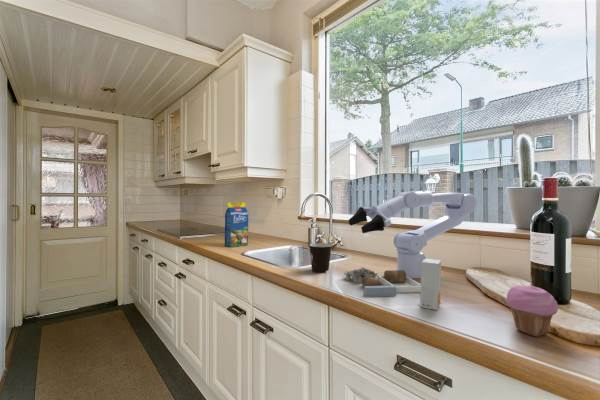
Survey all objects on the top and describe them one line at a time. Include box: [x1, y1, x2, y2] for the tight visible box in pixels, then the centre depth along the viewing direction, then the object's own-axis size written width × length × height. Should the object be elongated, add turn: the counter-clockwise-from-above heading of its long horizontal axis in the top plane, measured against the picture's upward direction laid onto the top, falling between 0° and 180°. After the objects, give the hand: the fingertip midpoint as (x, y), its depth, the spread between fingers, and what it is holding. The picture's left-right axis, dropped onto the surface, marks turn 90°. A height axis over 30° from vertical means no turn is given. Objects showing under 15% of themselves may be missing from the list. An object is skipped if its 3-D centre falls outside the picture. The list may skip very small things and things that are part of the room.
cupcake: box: [506, 285, 559, 337], centre depth 65 cm, size 9×9×10 cm
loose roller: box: [361, 275, 382, 287], centre depth 93 cm, size 6×4×4 cm, turn 7°
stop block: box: [363, 285, 397, 298], centre depth 87 cm, size 9×2×3 cm, turn 97°
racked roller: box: [383, 269, 406, 283], centre depth 100 cm, size 6×4×4 cm, turn 97°
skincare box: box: [419, 258, 442, 311], centre depth 80 cm, size 6×4×12 cm
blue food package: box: [224, 202, 249, 248], centre depth 174 cm, size 6×12×25 cm, turn 137°
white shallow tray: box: [377, 275, 421, 294], centre depth 96 cm, size 10×13×2 cm
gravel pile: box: [343, 267, 378, 284], centre depth 104 cm, size 11×8×4 cm
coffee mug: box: [309, 243, 333, 274], centre depth 118 cm, size 12×9×10 cm
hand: (355, 226), depth 103 cm, fingers open, 7 cm apart
